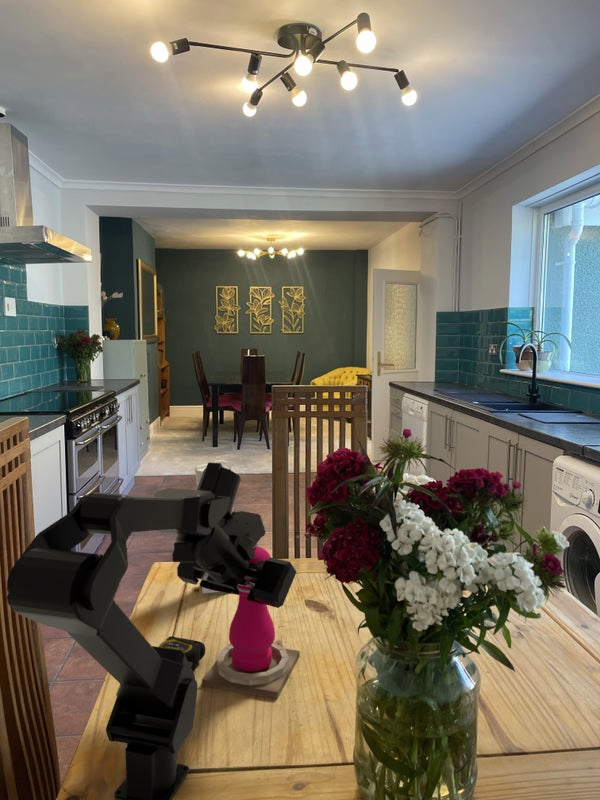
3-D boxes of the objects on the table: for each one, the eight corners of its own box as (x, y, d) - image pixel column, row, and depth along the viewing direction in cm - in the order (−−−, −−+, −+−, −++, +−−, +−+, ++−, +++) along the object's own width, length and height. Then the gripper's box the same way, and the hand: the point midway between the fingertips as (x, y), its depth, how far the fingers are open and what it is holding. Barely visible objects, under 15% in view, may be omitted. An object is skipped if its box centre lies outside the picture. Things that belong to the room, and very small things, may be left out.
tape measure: (207, 660, 97) (207, 638, 97) (186, 683, 91) (185, 659, 90) (171, 653, 99) (170, 631, 99) (147, 674, 93) (147, 651, 93)
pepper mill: (253, 679, 88) (254, 548, 87) (219, 663, 93) (219, 538, 91) (284, 659, 94) (285, 536, 92) (250, 645, 99) (250, 527, 97)
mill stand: (277, 698, 86) (277, 684, 86) (201, 685, 90) (201, 671, 89) (299, 656, 98) (299, 643, 98) (231, 646, 101) (231, 634, 101)
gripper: (289, 508, 83) (327, 561, 93) (188, 491, 92) (232, 540, 103) (256, 582, 77) (300, 629, 87) (152, 555, 86) (202, 600, 97)
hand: (257, 596), depth 94 cm, fingers closed on pepper mill, 5 cm apart
